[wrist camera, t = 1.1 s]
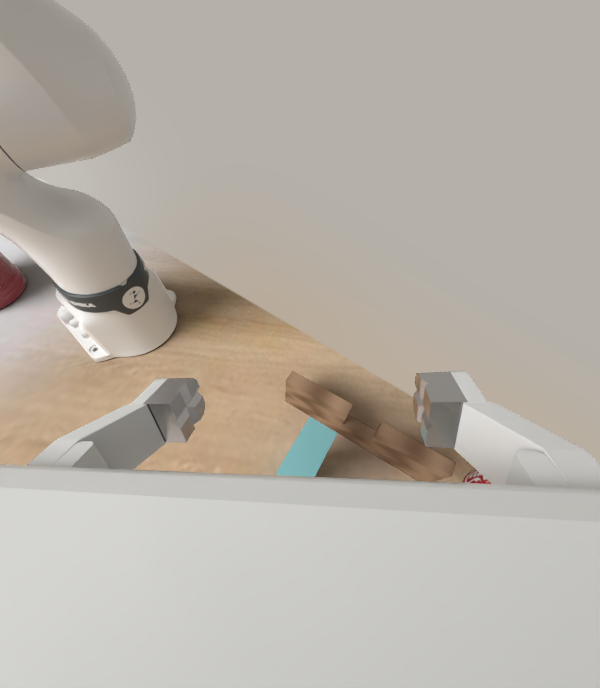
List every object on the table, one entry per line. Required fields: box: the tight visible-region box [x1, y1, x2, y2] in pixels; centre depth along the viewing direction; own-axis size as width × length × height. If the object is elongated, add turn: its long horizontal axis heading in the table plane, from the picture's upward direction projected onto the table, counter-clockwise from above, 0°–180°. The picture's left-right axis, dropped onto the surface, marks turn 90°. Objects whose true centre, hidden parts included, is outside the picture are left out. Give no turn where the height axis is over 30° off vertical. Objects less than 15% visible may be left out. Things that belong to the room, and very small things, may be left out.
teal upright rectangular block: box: [276, 417, 337, 477], centre depth 33 cm, size 3×6×18 cm, turn 149°
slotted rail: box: [285, 371, 455, 482], centre depth 41 cm, size 24×2×8 cm, turn 59°
